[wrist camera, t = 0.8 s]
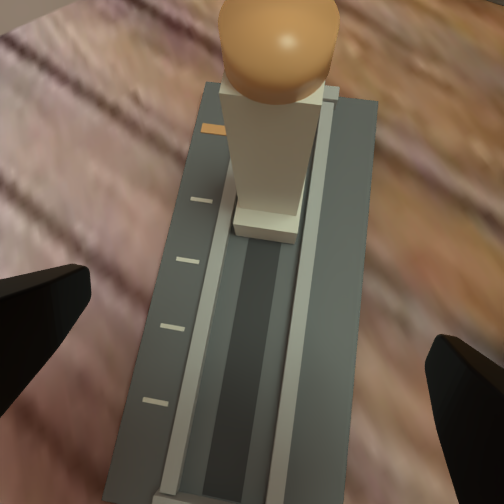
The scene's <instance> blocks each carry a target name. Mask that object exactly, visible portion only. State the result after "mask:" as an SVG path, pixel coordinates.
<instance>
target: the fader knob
mask: <svg viewBox="0 0 504 504" xmlns="http://www.w3.org/2000/svg"><path fill="white" fill-rule="evenodd" d="M339 25H340V17H339V12H338V8H337V6H336V4H335V2H334V0H225V2H224V4H223V6H222V7H221V10H220V13H219V18H218V28H219V35H220V41H221V48H222V55H223V62H224V68H225V69H224V73H223V78H222V82H221V86H220V90H219V97H220V102H221V108H222V113H223V119H224V124H225V130H226V135H227V141H228V146H229V152H230V157H231V163H232V168H233V174H234V179H235V185H236V190H237V196H238V201H237V206H236V211H235V216H234V221H233V226H234V230H235V234H236V236H243V237H249V238H256V239H263V240H269V241H276V242H282V243H289V244H295V241H296V237H297V234H298V227H299V220H300V213H301V206H302V199H303V192H304V185H305V178H306V172H307V167H308V163H309V159H310V154H311V150H312V145H313V141H314V137H315V132H316V128H317V123H318V119H319V115H320V110H321V106H322V99H323V92H324V85H325V79H326V78H327V76H328V73H329V70H330V65H331V61H332V56H333V52H334V48H335V43H336V39H337V34H338V30H339Z"/></svg>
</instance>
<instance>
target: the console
mask: <svg viewBox="0 0 504 504" xmlns="http://www.w3.org/2000/svg"><path fill="white" fill-rule="evenodd" d="M220 86H221V83H214V82H206V84H205V88H204V92H203V96H202V100H201V104H200V108H199V112H198V116H197V120H196V124H195V128H194V132H193V136H192V140H191V144H190V148H189V152H188V156H187V160H186V164H185V168H184V172H183V176H182V180H181V184H180V188H179V192H178V196H177V200H176V204H175V208H174V212H173V216H172V220H171V224H170V228H169V232H168V236H167V240H166V244H165V248H164V252H163V256H162V260H161V264H160V268H159V272H158V276H157V280H156V284H155V288H154V292H153V296H152V300H151V304H150V308H149V312H148V316H147V320H146V324H145V328H144V332H143V336H142V340H141V344H140V348H139V352H138V356H137V360H136V364H135V368H134V372H133V376H132V380H131V384H130V388H129V392H128V396H127V400H126V404H125V408H124V412H123V416H122V420H121V424H120V428H119V432H118V436H117V440H116V444H115V448H114V452H113V456H112V460H111V464H110V468H109V472H108V476H107V480H106V484H105V488H104V492H103V496H102V500H103V501H107V502H112V503H116V504H343V501H344V489H345V478H346V466H347V455H348V443H349V432H350V420H351V409H352V397H353V386H354V374H355V363H356V351H357V340H358V328H359V317H360V305H361V294H362V282H363V271H364V259H365V248H366V236H367V225H368V213H369V202H370V190H371V179H372V167H373V156H374V144H375V133H376V121H377V110H378V101H371V100H362V99H353V98H345V97H338V96H339V88H340V87H334V86H326V85H324V92H323V99H322V106H321V110H320V115H319V119H318V123H317V128H316V132H315V137H314V141H313V145H312V150H311V154H310V159H309V163H308V167H307V172H306V178H305V185H304V192H303V199H302V206H301V213H300V220H299V227H298V234H297V237H296V241H295V244H289V243H282V242H276V241H269V240H263V239H256V238H249V237H243V236H236V234H235V230H234V226H233V221H234V216H235V211H236V206H237V201H238V196H237V190H236V185H235V179H234V174H233V168H232V163H231V157H230V152H229V146H228V141H227V135H226V130H225V124H224V119H223V113H222V108H221V102H220V97H219V90H220Z"/></svg>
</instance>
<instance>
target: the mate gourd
mask: <svg viewBox="0 0 504 504" xmlns="http://www.w3.org/2000/svg"><path fill="white" fill-rule="evenodd" d="M487 1H490V2H493V3H496V4H499V5H503V6H504V0H487Z"/></svg>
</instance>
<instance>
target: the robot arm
mask: <svg viewBox="0 0 504 504" xmlns="http://www.w3.org/2000/svg"><path fill="white" fill-rule="evenodd" d="M90 298H91V282H90V271H89V269H88V268H87V267H86V266H82V265H77V264H68V265H64V266H59V267H55V268H50V269H46V270H41V271H37V272H32V273H28V274H23V275H19V276H14V277H10V278H5V279H1V280H0V418H1V416H2V415H3V414H4V413H5V412H6V410H7V409H8V408H9V407H10V406H11V404H12V403H13V402H14V401H15V399H16V398H17V397H18V396H19V395H20V393H21V392H22V391H23V390H24V389H25V387H26V386H27V385H28V384H29V383H30V381H31V380H32V379H33V378H34V377H35V375H36V374H37V373H38V372H39V371H40V369H41V368H42V367H43V366H44V365H45V363H46V362H47V361H48V360H49V359H50V357H51V356H52V355H53V354H54V352H55V351H56V350H57V349H58V347H59V346H60V344H61V343H62V342H63V340H64V339H65V337H66V336H67V334H68V333H69V331H70V330H71V328H72V327H73V325H74V324H75V322H76V321H77V319H78V318H79V316H80V315H81V313H82V312H83V311H84V309H85V308H86V306H87V305H88V303H89V301H90ZM425 373H426V378H427V384H428V389H429V394H430V400H431V405H432V411H433V416H434V421H435V425H436V430H437V433H438V437H439V440H440V443H441V447H442V450H443V453H444V457H445V460H446V463H447V466H448V470H449V473H450V476H451V479H452V483H453V486H454V489H455V492H456V496H457V499H458V502H459V504H504V369H503V368H501V367H500V366H498V365H497V364H496V363H494V362H493V361H491V360H490V359H488V358H487V357H485V356H484V355H483V354H481V353H480V352H478V351H477V350H475V349H474V348H472V347H471V346H469V345H468V344H467V343H465V342H464V341H462V340H461V339H459V338H458V337H455V336H450V335H444V334H439V335H437V336H436V338H435V339H434V342H433V344H432V346H431V349H430V351H429V353H428V356H427V358H426V361H425Z"/></svg>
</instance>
